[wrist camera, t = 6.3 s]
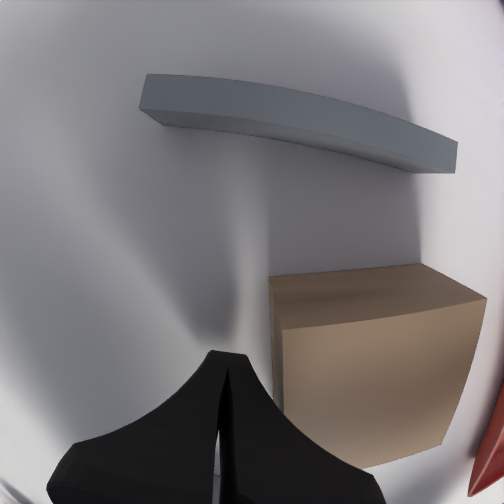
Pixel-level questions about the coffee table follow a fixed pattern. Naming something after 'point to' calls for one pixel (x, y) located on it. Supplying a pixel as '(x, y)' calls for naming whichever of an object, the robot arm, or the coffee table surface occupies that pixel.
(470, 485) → the plant saucer
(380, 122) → the lane
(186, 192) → the coffee table surface
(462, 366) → the walnut block
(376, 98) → the coffee table surface
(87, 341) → the coffee table surface
